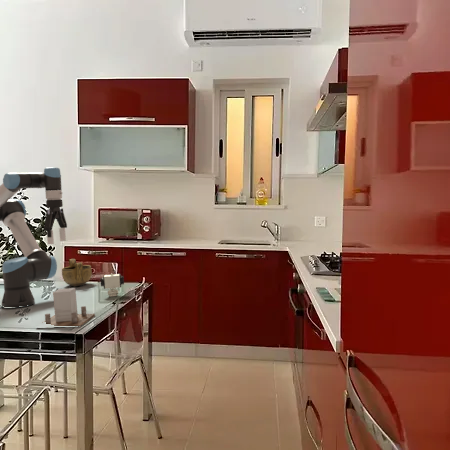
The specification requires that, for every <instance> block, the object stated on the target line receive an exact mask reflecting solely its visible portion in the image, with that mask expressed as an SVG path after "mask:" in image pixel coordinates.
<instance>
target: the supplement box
mask: <svg viewBox="0 0 450 450" xmlns="http://www.w3.org/2000/svg"><path fill="white" fill-rule="evenodd" d="M52 296H53V297H52V299H53V305H54V306H53V307H54V309H53V310H54V315H55V320H56V322H65V321H72V316H71V313H76V314H77V317H78V314H79V313H78V305H77V293H76V287H71V288H70V287H69V288H58V289H56V290H55V291H53V292H52Z"/></svg>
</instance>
